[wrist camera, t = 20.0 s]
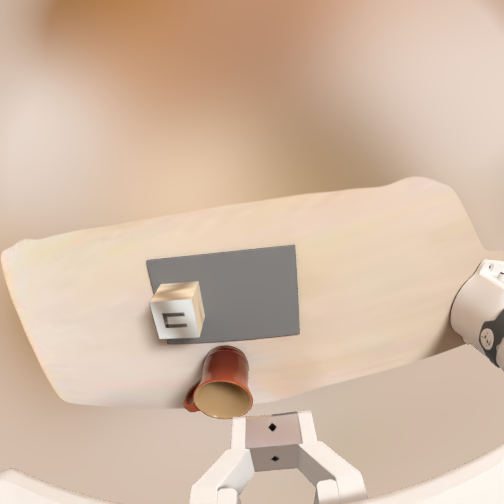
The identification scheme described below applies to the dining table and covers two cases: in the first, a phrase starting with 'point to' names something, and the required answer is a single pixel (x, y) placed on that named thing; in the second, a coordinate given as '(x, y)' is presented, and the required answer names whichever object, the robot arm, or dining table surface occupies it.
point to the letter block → (178, 310)
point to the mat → (238, 291)
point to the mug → (222, 385)
